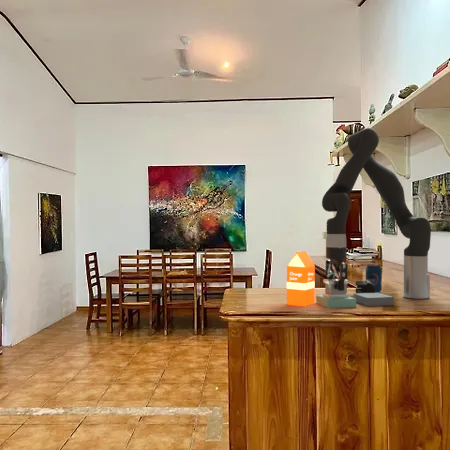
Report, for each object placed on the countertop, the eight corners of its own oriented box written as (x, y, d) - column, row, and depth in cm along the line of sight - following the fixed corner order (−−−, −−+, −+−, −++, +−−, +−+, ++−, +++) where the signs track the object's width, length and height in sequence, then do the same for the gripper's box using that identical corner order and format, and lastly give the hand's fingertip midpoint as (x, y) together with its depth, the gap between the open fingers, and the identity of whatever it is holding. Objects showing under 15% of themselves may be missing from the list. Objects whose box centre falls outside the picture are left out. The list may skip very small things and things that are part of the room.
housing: (328, 298, 179) (328, 280, 179) (323, 296, 183) (323, 279, 183) (348, 297, 180) (348, 280, 180) (342, 295, 185) (342, 278, 185)
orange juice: (286, 304, 183) (286, 251, 183) (296, 301, 190) (296, 250, 190) (305, 306, 178) (305, 252, 178) (315, 303, 186) (315, 251, 186)
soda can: (363, 292, 214) (364, 265, 214) (367, 290, 220) (367, 263, 220) (380, 293, 211) (380, 265, 211) (383, 291, 217) (383, 264, 217)
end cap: (375, 299, 195) (375, 282, 195) (357, 298, 196) (357, 282, 196) (372, 295, 205) (372, 279, 205) (355, 295, 206) (355, 279, 206)
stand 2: (379, 300, 193) (379, 292, 192) (394, 304, 182) (394, 297, 182) (353, 301, 190) (353, 293, 190) (367, 305, 180) (367, 297, 179)
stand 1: (342, 301, 188) (342, 294, 188) (356, 306, 178) (356, 298, 177) (316, 302, 186) (316, 295, 186) (328, 307, 175) (328, 299, 175)
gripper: (319, 245, 188) (319, 286, 188) (334, 247, 174) (334, 292, 174) (337, 244, 189) (337, 286, 189) (354, 246, 175) (354, 291, 175)
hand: (336, 289), depth 182 cm, fingers open, 8 cm apart
